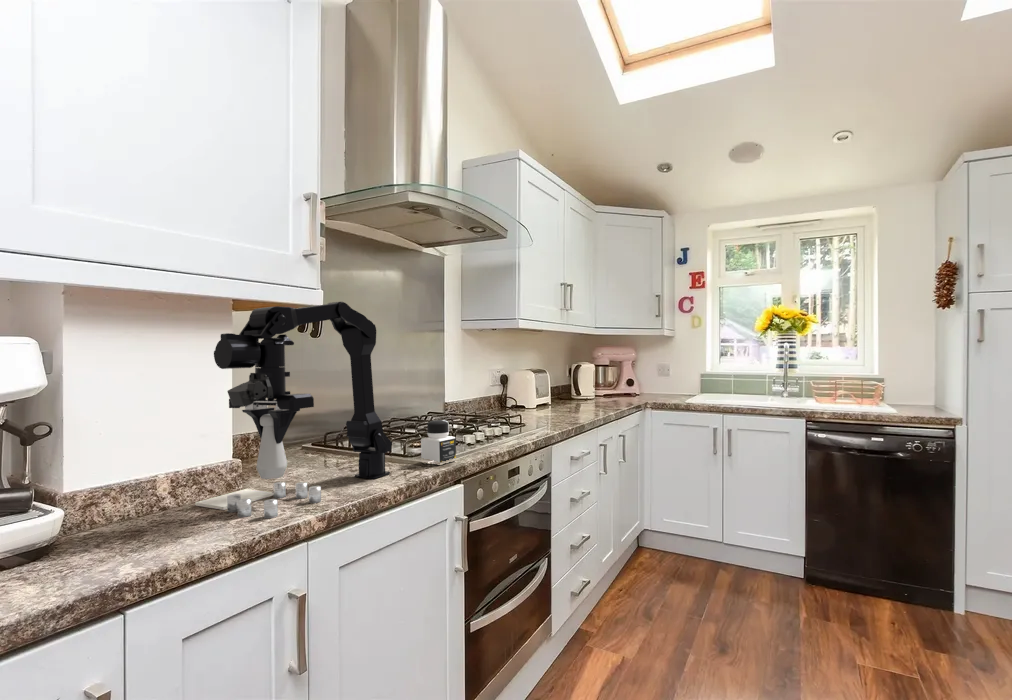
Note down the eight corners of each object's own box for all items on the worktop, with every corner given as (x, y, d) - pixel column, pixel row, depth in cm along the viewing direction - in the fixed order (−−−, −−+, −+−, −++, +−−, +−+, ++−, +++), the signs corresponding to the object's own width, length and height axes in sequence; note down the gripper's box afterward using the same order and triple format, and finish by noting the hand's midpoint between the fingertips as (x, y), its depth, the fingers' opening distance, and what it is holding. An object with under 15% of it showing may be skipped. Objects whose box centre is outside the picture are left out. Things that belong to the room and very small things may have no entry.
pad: (246, 491, 118) (246, 488, 118) (273, 495, 115) (273, 492, 115) (195, 505, 108) (195, 502, 108) (223, 509, 104) (223, 506, 104)
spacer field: (285, 493, 116) (285, 479, 116) (328, 498, 110) (328, 484, 110) (217, 513, 101) (217, 498, 101) (263, 521, 96) (263, 505, 96)
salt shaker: (267, 481, 102) (266, 416, 102) (250, 478, 105) (249, 415, 105) (293, 475, 107) (292, 413, 107) (276, 472, 110) (275, 412, 110)
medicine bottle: (440, 466, 142) (439, 422, 142) (420, 463, 146) (420, 421, 146) (456, 461, 148) (455, 419, 148) (437, 459, 152) (436, 418, 152)
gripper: (203, 369, 103) (205, 447, 103) (269, 368, 95) (270, 452, 95) (252, 367, 113) (253, 438, 113) (315, 366, 105) (316, 442, 105)
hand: (271, 442), depth 106 cm, fingers closed on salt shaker, 4 cm apart
